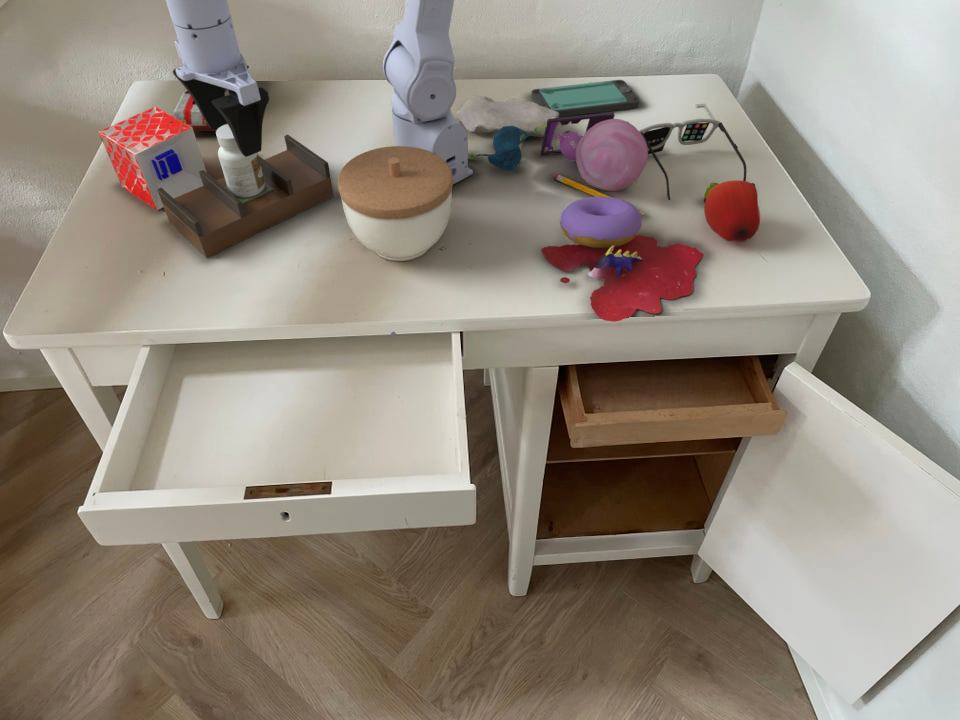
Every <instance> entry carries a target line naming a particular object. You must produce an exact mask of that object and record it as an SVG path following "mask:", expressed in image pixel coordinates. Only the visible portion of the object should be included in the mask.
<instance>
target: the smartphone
mask: <svg viewBox="0 0 960 720" xmlns="http://www.w3.org/2000/svg"><path fill="white" fill-rule="evenodd" d="M530 97H531V100H532V102H534V103H537V104H538V105H539V106H542V107H547V108H549V109H552V110H554V111H556V112H558V113H559V117H558V118H561V117H571V116H580V115H590V114H599V113H608V112H614V111H623V110H630V109H637V108H640V107H639V106H640V101H641V99H640V98H639V96H638V95H636V93H635V92H634V91H633V90H632V89H631V87H630V86H629V84H627V82H626V81H625V80H623V79H614V80H606V81H596V82H588V83H577V84H571V85H569V84H567V85H560V86H553V87H543V88H535V89H532V90H531V95H530Z"/></svg>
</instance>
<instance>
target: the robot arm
mask: <svg viewBox="0 0 960 720" xmlns="http://www.w3.org/2000/svg"><path fill="white" fill-rule="evenodd" d="M454 3H455V0H405V6H404V13H403V19H402V21H400V23H398V24H397V25H396V27H395V28H394V30H393V38H392V41H391V44H390V46H389V47H388V49H387V51H386V52H385V54H384V56H383V60H382V72H383V75H384V77H385V79H386V81H387V82H388V84H390V85H391V86H392V87H393V94H392V99H391V103H390V106H391V117H392V118H391V119H392V128H393V137H394V138H393V139H394V146H408V147H416V148H420V149H424V150H428V151H430V152H432V153H434V154H436V155H438V156H440V157H441V158H442V159H443V160H444V161H445V162H446V163H447V164H448V165H449V167H450V169H451V171H452V175H453V185H455V184H457V183H458V182H460V181H463V180H465V179H466V178H468V177H470V176H472V175H473V174H474V172H473V171H474V170H473V169H471V168H470V167H469V159H468V152H469V138H468V137H469V136H468V131H467V129H466V128H465V127H464V125H463V124H461V122H460V121H458V119H457V118H456V117H455V116H454V114H453V112H452V109H451V108H452V107H453V106H454V104H455V101H456V98H457V84H456V82H455V78H454V67H455V62H456V61H455V54H454V51H453V47H452V43H451V37H450V27H451V21H452V15H453V9H454ZM165 4H166V7H167V10H168V12H169V15H170V19H171V22H172V25H173V29H174V31H175V34H176V35H175V36H176V38H177V39H176V40H173V43H174V46H175V50H176V52H177V55H178V58H179V59H180V60H181V61H182V64H183V65H181V66H178V67H175V68H174V69H173V70H172V75H173V76H174V77H175V79H177V80H178V81H179V82H180V83H181V85H182V86H183V87H184V89H185V88H186V89H187V91H188V92H189V93H190V95H191V96H192V98H193V99H194V101H195V103H196V105H197V106H198V108H199V110H200V112H201V114H202V116H203V117H204V119H205V121H206V123H207V124H208V126H209V127H210V128H211V129H212V130H211V131H215V130H214V129H217V128H220V127H221V126H223V125H226V124H228V125H229V127H230V129H231V131H232V134H233V136H234V139H235V141H236V143H237V146H238V148H239V150H240V151H241V153H242V154H243V155H244V156H245V157H248V156H250V155H252V154H255V153H260V152H262V146H263V121H264V117H265V112H266V109H267V107H268V104H269V101H270V95H269V91H267V90H266V89H265V88H263V87H262V86H258V81H256V80H254V78H253V77H252V76H251V74H250V71H249V68H247V66H248V65H247V66H246V64H247V63H245V62H246V60H245V58H244V56H243V54H242V53H241V51H240V47H239V46H240V45H239V43H238V39H237V34H236V30H235V27H234V22H233V18H232V15H231V11H230V7H229V2H228V0H165ZM224 88H226V89H229V90H228V92H229V95H226V96H225V91H224Z"/></svg>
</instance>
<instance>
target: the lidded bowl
mask: <svg viewBox="0 0 960 720" xmlns="http://www.w3.org/2000/svg"><path fill="white" fill-rule="evenodd" d="M453 185H454V184H453V175H452V171H451V169H450V167H449V165H448V164H447V163H446V162H445V161H444V160H443V159H442V158H441V157H440V156H438V155H436V154H434V153H432V152H430V151H428V150H424V149H420V148H416V147H408V146H395V145H390V146H384V147H378V148H374V149H370V150H367V151H365V152H362V153H360V154H357V155H356V156H354V157H353V158H351V159H350V160H349V161H348V162H347V163H345V165H344V166H343V167H342V168H341V170H340V172H339V174H338V178H337V188H338V192H339V196H340V199H341V204H342V208H343V212H344V215H345V218H346V221H347V224H348V226H349V228H350V230H351V232H352V233H353V235H354V236H355V238H356V239H357V240H358V241H359V242H360V243H361V244H362V245H363V246H364V247H365V248H367V249H368V250H370V251H372V253H375V254H376V255H377V256H379V257H381V258H383V259H385V260H388V261H394V262H406V261H411V260H415V259H417V258H420V257H422V256H423V255H425V254H426V253H427V252H428V251H429V249H431V248H432V247H433V246H435V244H436V243H437V242H438V241H439V240H440V239H441V237H442V236H443V234H444V233H445V231H446V229H447V227H448V223H449V222H450V221H449V220H450V217H451V211H452V200H453Z"/></svg>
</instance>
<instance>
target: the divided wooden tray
mask: <svg viewBox="0 0 960 720" xmlns="http://www.w3.org/2000/svg"><path fill="white" fill-rule="evenodd" d="M283 137H284V142H285V146H286V150H284V151H283V150H282V151H281V152H279V153H277V154H274V155H272V156H270V157H267V158H265V159H264V158H263V157H261V156H260V155H259V154H258V157H259V161H260V165H261V169H262V173H263V176H264V180H265V188H264V189H263V191H262V192H260V193H259V194H257V195H255V196H252V197H247V198H240V197H236V196H234V195H233V194H232V193H230V192H229V190H228V187H227V183H226V180H225V177H224V176H223V177H220V178H218V179H215V178H214V177H212V176H211V175H210V174H209V173H208V172H207V173H206V172H205V171H204V170H202V171H199V173H200V177H201V180H202V183H203V185H204V186H202V187H199V188H197V189H195V190H192V191H190V192H188V193H185V194H183V195H181V196H179V197H176V198H172V197H171V196H170V195H169V194H168V193H167V192H166V191H165V190H164V189H163V188H159V189H157V191H158V194H159V196H160V199H161V201H162V204H163V209H164V211H165V214H166V217H167V220H168V223H169V225H170V226H172V227H173V229H175V230H176V231H177V232H178V233H179V234H181V236H182V237H183V238H185V240H186V241H188V243H190V244H191V245H192V246H193V247H194V248H195V249H196V250H197V251H198V252H199V253H201V255H203V257H204V258H206V259H208V258H210V257H213V256H215V255H217V254H219V253H221V252H223V251H226V250H227V249H229V248H231V247H233V246H235V245H238V244H239V243H242V242H244V241H246V240H248V239H250V238H252V237H254V236H255V235H258V234H260V233H262V232H264V231H266V230H269V229H270V228H272V227H275V226H276V225H280V224H281V223H283V222H285V221H287V220H289V219H292V218H294V217H296V216H298V215H299V214H302V213H304V212H306V211H308V210H310V209H312V208H314V207H317V206H319V205H320V204H322V203H324V202H326V201H328V200H330V199H332V198H334V197H335V194H334V187H333V183H332V177H331V171H330V165H329V162H328V161H326V160H325V159H324V158H322V157H321V156H319V155H318V154H317V153H315V152H314V151H312V150H311V149H309V148H308V147H307V146H305V145H303V144H302V143H301V142H299V141H298V140H297V139H295V138H294V137H292V136H291V135H289V134H286V135H284V136H283Z"/></svg>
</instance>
